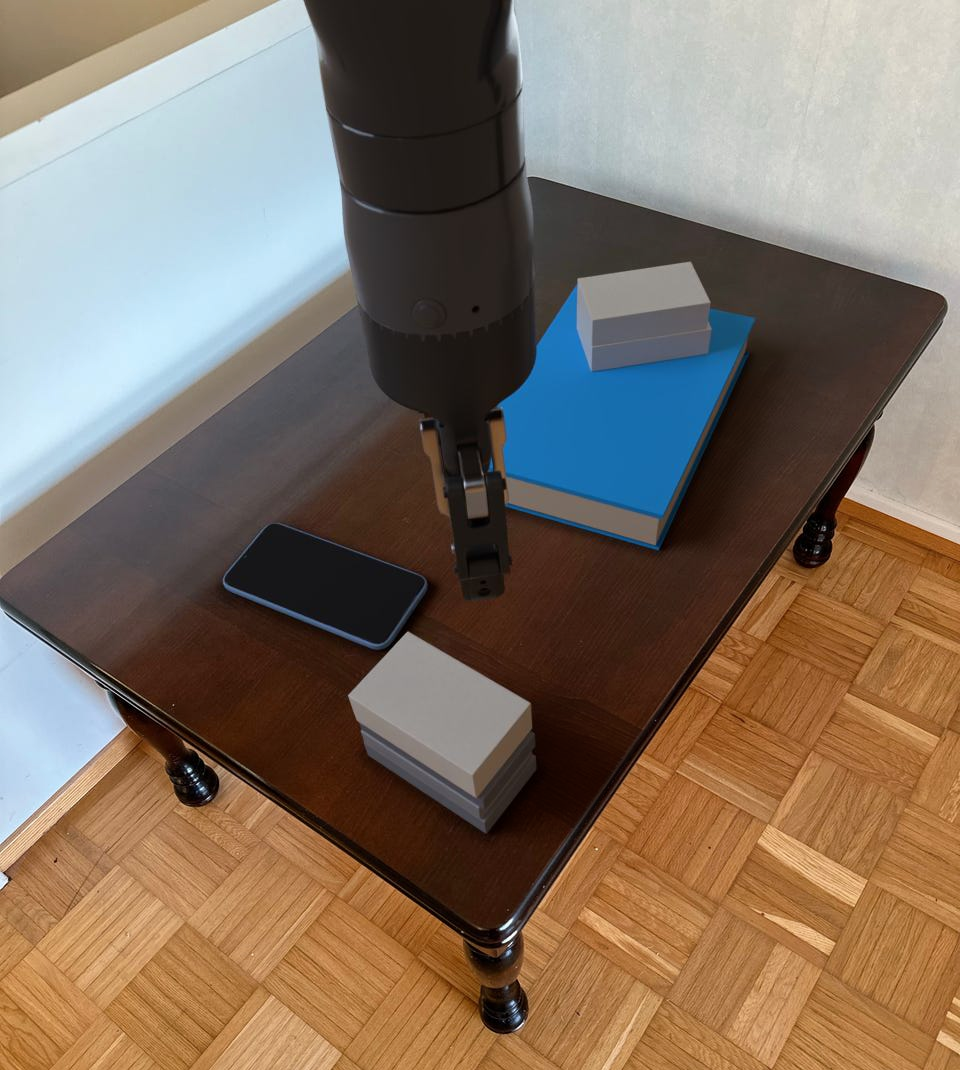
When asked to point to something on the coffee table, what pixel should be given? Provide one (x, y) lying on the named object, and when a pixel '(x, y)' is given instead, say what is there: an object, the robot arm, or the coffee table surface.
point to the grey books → (450, 795)
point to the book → (615, 430)
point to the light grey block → (442, 713)
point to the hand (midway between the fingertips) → (473, 534)
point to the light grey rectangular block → (642, 316)
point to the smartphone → (326, 585)
